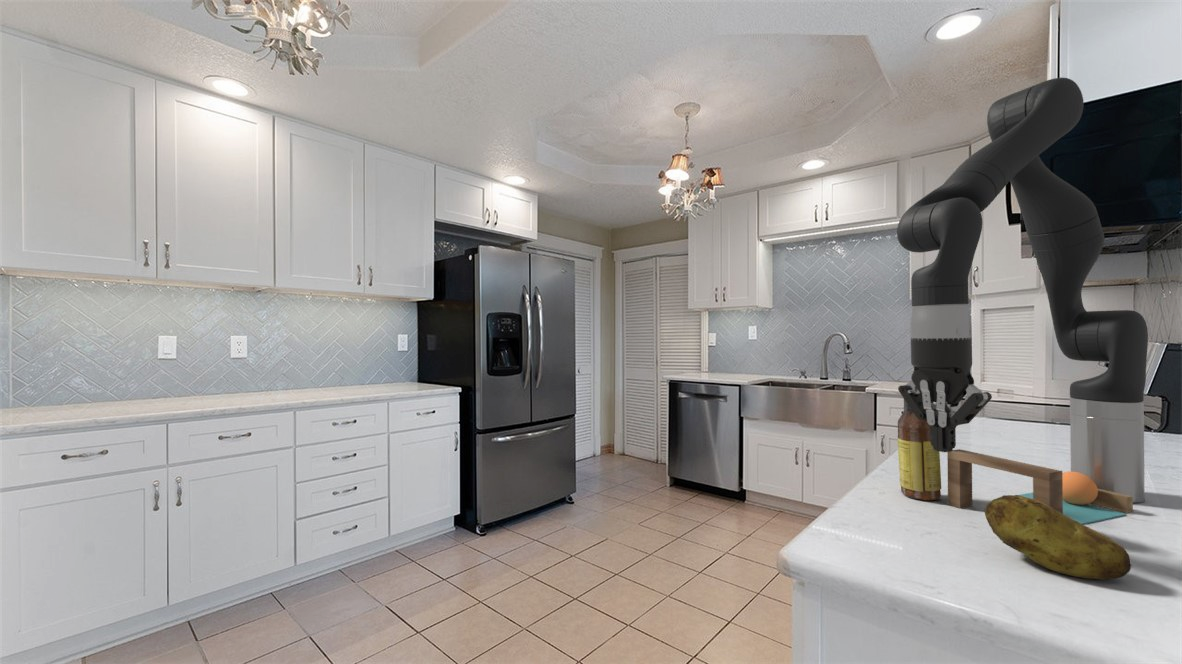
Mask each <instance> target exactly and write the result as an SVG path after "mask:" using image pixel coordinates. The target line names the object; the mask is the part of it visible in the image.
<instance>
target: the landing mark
mask: <svg viewBox="0 0 1182 664" xmlns="http://www.w3.org/2000/svg"><path fill="white" fill-rule="evenodd" d="M1019 495H1020V496H1023V497H1028V498H1031V499H1033V492H1029V493H1028V492H1027V493H1023V494H1022V493H1021V494H1019ZM994 499H995V498H993V499H992V500H994ZM1063 514H1064V515H1065V516H1067V517H1069V518H1071V519H1073V520H1075V521H1077V522H1079V523H1080V524H1082V525H1087V524H1091V523H1096V522H1101V521H1105V520H1111V519H1115V518H1120V517H1124V516H1127V514H1126V513H1125V512H1121V511H1117V510H1113V509H1109V508H1105V507H1101V506H1097V505H1093V504H1086V505H1075V504H1070V503H1067V502H1065V501H1064V500H1063Z"/></svg>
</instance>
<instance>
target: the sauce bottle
mask: <svg viewBox="0 0 1182 664" xmlns="http://www.w3.org/2000/svg"><path fill="white" fill-rule="evenodd" d="M897 450H898V451H897V453H898V468H899V485H900V489H901V493H902V494H903V495H904V496H906V497H908V498H910V499H915V500H920V501H938V500H940V499H941V496H942V493H941V489H942V477H941V476H942V475H941V473H942V471H941V455H940V454H941V453H940V451H936V450H934V449H933V446H932V445H931V442H930V425H929V424H928V422H927V421H925V420H923V419H918V418H917V417H916V415H915V414H914V412H913V411H912V410H911V408H910V407H909V405H908V404H907V402H906V401H905V399H904V398H903V412H902V413H901V415H900V417H899V418H898V420H897Z"/></svg>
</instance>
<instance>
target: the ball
mask: <svg viewBox="0 0 1182 664" xmlns="http://www.w3.org/2000/svg"><path fill="white" fill-rule="evenodd" d="M1062 481H1063V500H1064V501H1065V502H1067V503H1070V504H1075V505H1086V504H1089V503H1091V502H1093V501H1094V500H1095V499H1096V497H1097V495H1098V489H1097V486H1096V484H1095V483H1094V481H1093V480H1092V479H1090V478H1089V477H1088V476H1086V475H1084V474H1082V473H1078V472H1072V471H1071V470H1069V471H1065V472H1063V471H1062ZM1089 505H1090V504H1089Z"/></svg>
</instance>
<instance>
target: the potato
mask: <svg viewBox="0 0 1182 664" xmlns="http://www.w3.org/2000/svg"><path fill="white" fill-rule="evenodd" d="M1020 495H1021V494H1014V495H1012V494H1011V495H1010V494H1008V495H1007V494H1006V495H1005V494H1004V495H1002V496H999V497H997V498H993V499H994V500H993V499H992V500H990V501H989V502H988V503H987V504H986V505H985V508H984V516H985V518H986V522H987V523H988V526H989V527H990V528H991V531H992V532H993V534H994V535H996V537H998V539H999V540H1000V541H1001V542H1002V543H1003V544H1005V545H1007V547H1009V548H1011V549H1013V550H1015V551H1017V552H1018V553H1021V554H1023V555H1025V557H1027V558H1029V559H1030V560H1032V561H1033V562H1035V563H1036V564H1038V565H1040V566H1042V567H1044V568H1045V569H1048V570H1051V571H1053V572H1056V573H1060V574H1062V575H1066V576H1071V577H1076V578H1081V579H1082V578H1083V579H1091V580H1113V579H1114V580H1115V579H1120V578H1123V577H1124V576H1126V575H1128V573H1129V572H1130V571H1131V569H1132V564H1131V558H1130V555H1129V553H1128V552H1127V551H1126V549H1125V548H1124V547H1123V546H1122V545H1121V544H1119V543H1118V542H1117V541H1115V540H1113V539H1112V538H1110V537H1108V536H1106V535H1104V534H1102V533H1101V532H1098V531H1096V530H1094V529H1092V528H1090V527H1088V526H1086V525H1085V524H1083V525H1082V524H1080V523H1079V522H1077V521H1075V520H1073V519H1071V518H1069V517H1067V516H1065V515H1064V514H1062V513H1060V512H1058V511H1056V510H1055V509H1053V508H1052V507H1050V506H1048V505H1046V504H1045V503H1043V502H1040V501H1038V500H1035V499H1031V498H1028V497H1023V496H1020Z"/></svg>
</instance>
